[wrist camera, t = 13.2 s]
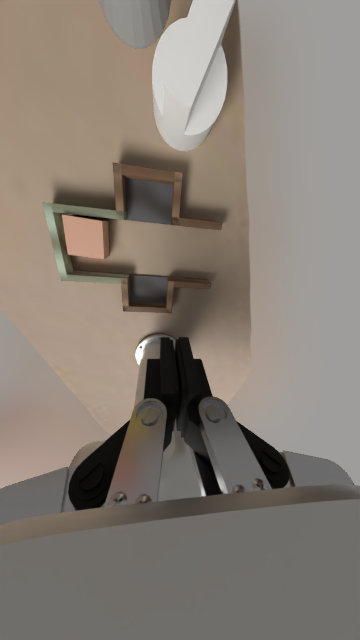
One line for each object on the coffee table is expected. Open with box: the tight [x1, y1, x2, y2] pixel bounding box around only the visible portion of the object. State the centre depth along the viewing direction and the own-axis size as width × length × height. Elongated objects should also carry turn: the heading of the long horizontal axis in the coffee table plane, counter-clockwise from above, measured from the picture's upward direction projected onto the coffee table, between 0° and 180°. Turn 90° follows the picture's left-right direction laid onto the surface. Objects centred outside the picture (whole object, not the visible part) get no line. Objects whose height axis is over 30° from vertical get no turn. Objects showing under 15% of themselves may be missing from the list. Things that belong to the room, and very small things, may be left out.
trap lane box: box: [42, 163, 222, 313], centre depth 33 cm, size 24×29×3 cm
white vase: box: [152, 0, 236, 151], centre depth 21 cm, size 9×9×12 cm
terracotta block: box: [62, 215, 109, 259], centre depth 31 cm, size 6×6×4 cm
